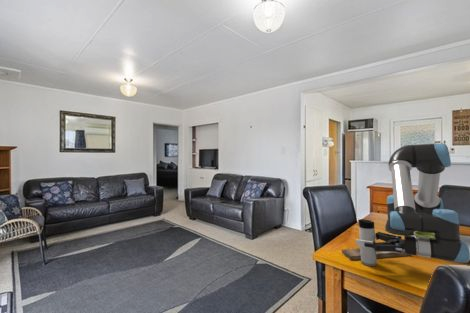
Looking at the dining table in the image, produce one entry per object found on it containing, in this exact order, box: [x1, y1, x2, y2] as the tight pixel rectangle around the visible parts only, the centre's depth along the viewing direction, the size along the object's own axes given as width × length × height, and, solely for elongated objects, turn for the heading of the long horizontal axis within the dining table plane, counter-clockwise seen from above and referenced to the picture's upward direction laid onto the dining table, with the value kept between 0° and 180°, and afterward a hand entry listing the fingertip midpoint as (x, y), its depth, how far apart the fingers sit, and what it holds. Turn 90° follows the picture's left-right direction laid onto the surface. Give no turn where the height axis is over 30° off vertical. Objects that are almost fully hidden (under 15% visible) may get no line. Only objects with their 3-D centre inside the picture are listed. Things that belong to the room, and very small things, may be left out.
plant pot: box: [413, 231, 435, 239], centre depth 116 cm, size 9×9×9 cm
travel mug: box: [358, 218, 378, 267], centre depth 107 cm, size 6×7×20 cm
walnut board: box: [341, 248, 412, 261], centre depth 115 cm, size 30×8×2 cm, turn 94°
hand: (358, 238), depth 109 cm, fingers open, 12 cm apart
